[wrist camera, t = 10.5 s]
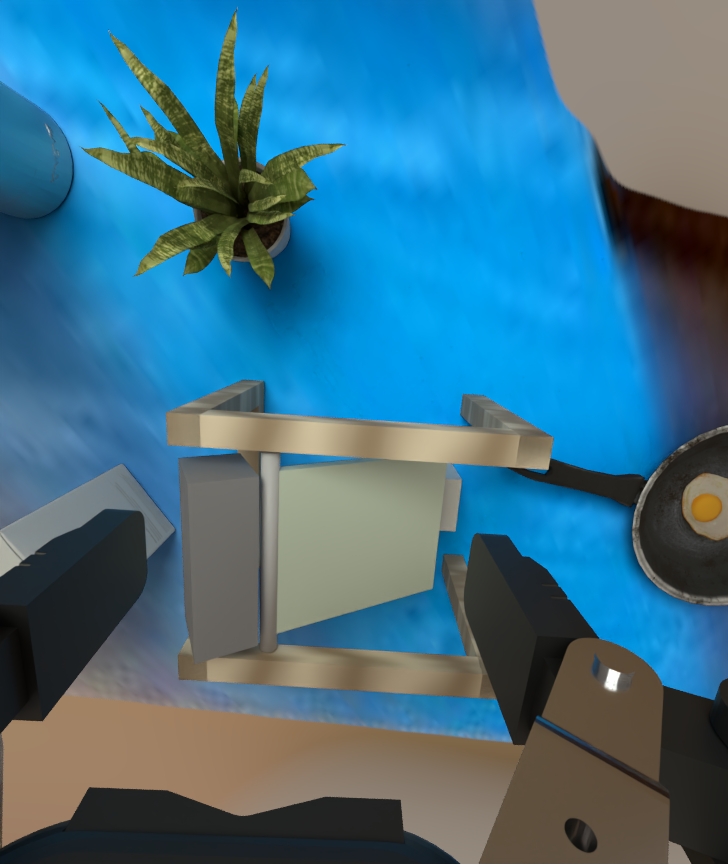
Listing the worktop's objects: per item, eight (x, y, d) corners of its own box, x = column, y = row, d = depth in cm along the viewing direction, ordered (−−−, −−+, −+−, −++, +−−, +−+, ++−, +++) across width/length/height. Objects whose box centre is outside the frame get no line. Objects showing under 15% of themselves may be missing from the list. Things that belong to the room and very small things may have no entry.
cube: (400, 527, 39) (455, 531, 39) (405, 476, 38) (461, 479, 38) (397, 505, 44) (445, 508, 44) (401, 459, 43) (451, 462, 43)
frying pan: (750, 605, 46) (782, 629, 43) (467, 533, 45) (476, 552, 41) (840, 442, 42) (885, 453, 38) (530, 356, 40) (546, 359, 36)
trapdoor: (185, 630, 31) (195, 680, 27) (177, 440, 28) (186, 463, 24) (402, 574, 40) (435, 605, 36) (417, 425, 37) (455, 440, 33)
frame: (244, 558, 45) (178, 679, 30) (243, 379, 41) (166, 412, 25) (460, 572, 45) (507, 699, 30) (483, 395, 41) (553, 437, 25)
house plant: (330, 106, 35) (298, -73, 19) (371, 278, 38) (372, 244, 23) (168, 155, 36) (12, 22, 20) (221, 318, 39) (121, 313, 24)
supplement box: (123, 459, 43) (-3, 528, 28) (178, 529, 45) (86, 627, 30) (55, 504, 44) (-98, 591, 30) (112, 570, 46) (-7, 683, 31)
